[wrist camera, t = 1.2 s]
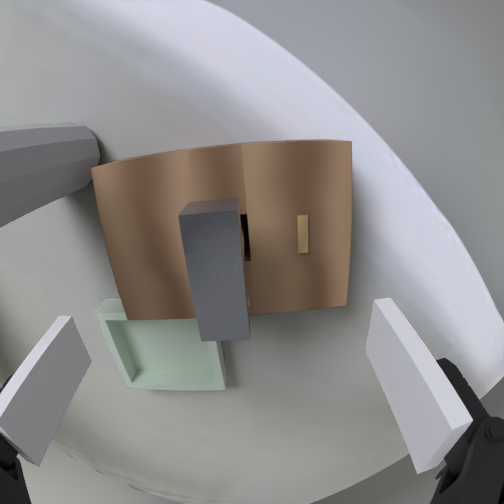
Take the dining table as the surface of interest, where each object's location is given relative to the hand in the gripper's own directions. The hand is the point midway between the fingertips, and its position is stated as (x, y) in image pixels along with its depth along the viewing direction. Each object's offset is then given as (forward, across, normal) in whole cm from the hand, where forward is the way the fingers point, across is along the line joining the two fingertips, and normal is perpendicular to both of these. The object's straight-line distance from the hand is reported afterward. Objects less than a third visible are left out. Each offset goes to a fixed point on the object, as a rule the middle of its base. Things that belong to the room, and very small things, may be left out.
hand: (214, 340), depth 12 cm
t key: (+17, 0, 0) cm, 17 cm away
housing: (+18, 0, 0) cm, 18 cm away
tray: (+18, -10, -14) cm, 25 cm away
